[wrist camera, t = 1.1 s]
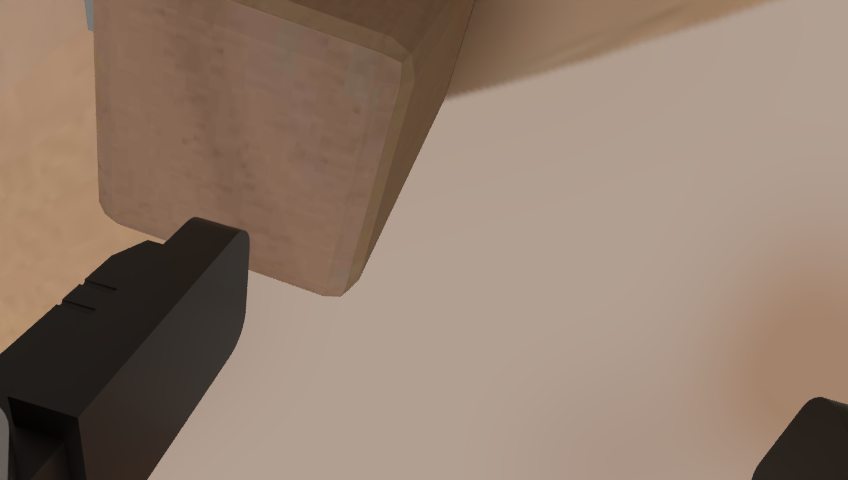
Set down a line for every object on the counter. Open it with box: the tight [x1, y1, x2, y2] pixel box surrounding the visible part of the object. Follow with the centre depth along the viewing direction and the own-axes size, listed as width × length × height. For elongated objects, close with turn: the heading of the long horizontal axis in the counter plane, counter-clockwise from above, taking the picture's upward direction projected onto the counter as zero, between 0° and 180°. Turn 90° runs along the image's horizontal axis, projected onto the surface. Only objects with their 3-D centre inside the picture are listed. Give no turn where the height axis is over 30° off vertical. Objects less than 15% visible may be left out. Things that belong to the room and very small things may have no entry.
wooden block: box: [93, 0, 475, 297], centre depth 29 cm, size 10×10×20 cm
